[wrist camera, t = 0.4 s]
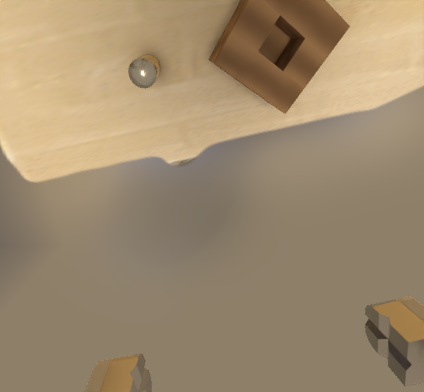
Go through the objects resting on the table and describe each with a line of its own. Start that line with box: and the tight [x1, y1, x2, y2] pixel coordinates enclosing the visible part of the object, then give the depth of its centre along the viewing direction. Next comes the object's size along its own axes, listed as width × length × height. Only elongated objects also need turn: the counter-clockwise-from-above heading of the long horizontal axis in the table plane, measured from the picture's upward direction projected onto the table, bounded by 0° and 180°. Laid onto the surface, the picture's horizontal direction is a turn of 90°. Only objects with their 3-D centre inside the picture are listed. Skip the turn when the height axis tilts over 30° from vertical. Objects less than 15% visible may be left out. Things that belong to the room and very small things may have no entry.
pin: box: [129, 55, 160, 88], centre depth 41 cm, size 4×4×11 cm
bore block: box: [209, 0, 350, 114], centre depth 42 cm, size 16×16×8 cm
